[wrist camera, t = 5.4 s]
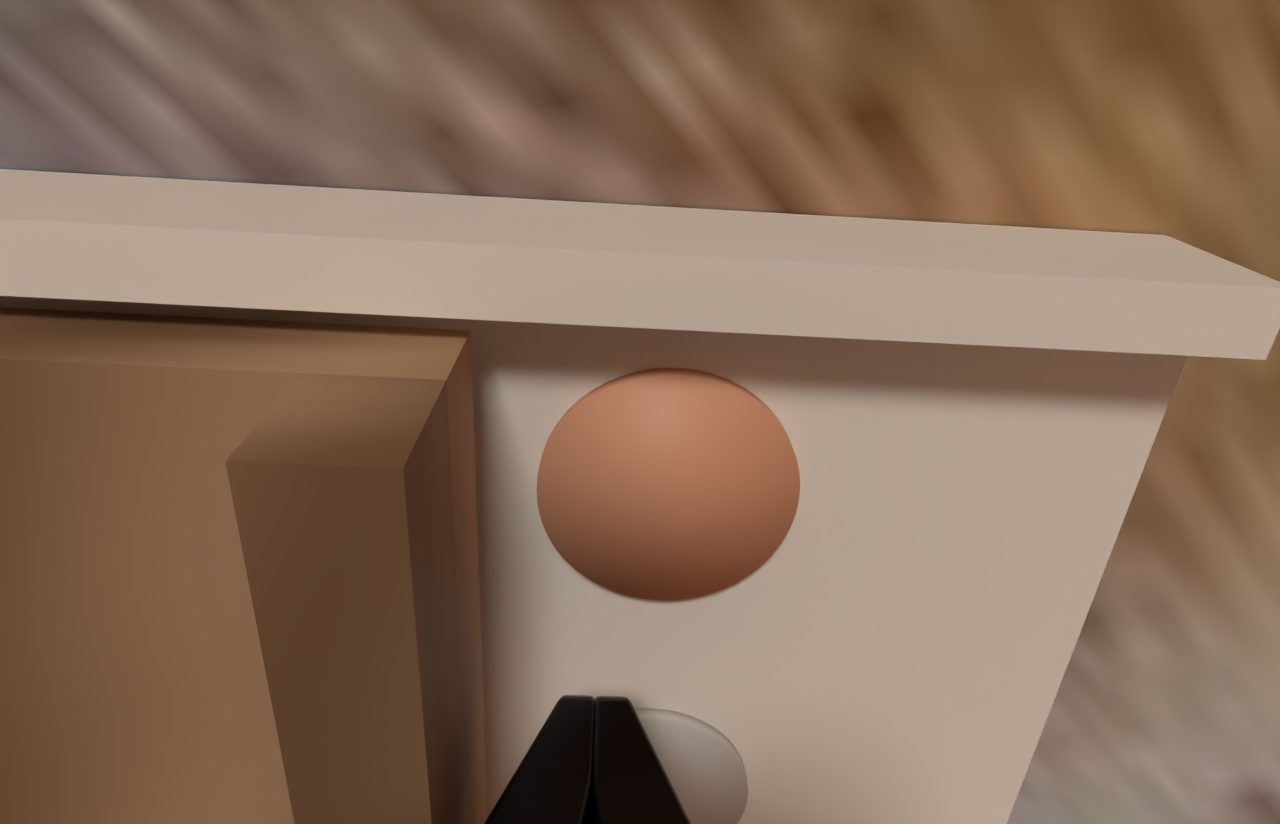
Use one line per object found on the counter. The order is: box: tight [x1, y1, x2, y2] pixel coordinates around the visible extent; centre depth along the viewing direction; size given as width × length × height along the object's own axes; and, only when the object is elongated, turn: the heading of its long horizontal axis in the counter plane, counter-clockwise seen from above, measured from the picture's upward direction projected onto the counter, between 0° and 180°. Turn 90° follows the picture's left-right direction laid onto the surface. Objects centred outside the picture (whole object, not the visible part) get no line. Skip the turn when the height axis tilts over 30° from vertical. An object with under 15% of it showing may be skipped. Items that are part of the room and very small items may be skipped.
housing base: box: [0, 169, 1280, 824], centre depth 10 cm, size 16×11×2 cm
